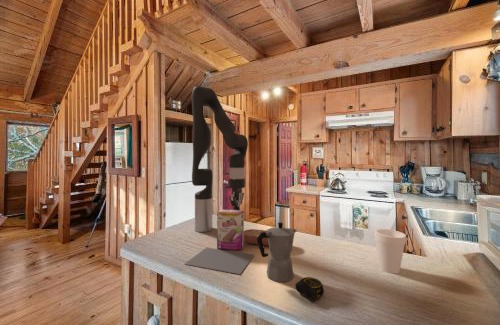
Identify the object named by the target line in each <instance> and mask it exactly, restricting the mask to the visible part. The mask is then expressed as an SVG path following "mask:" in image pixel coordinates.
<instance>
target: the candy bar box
mask: <svg viewBox="0 0 500 325" xmlns="http://www.w3.org/2000/svg"><path fill="white" fill-rule="evenodd" d="M216 225H217V227H216V228H217V229H216V231H217V233H216V234H217V236H216V249H220V250H227V251H243V248H244V243H245V242H244V241H245V239H244V231H245V210H241V209H240V210H234V209H219V210H218V211H217V224H216Z"/></svg>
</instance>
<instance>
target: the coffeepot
mask: <svg viewBox="0 0 500 325" xmlns="http://www.w3.org/2000/svg"><path fill="white" fill-rule="evenodd" d="M277 225H278V226H277V227H276V226H275V227H271V228H268V229H266V232H261V233H260V234H259V236H258V237H257V243H258V244H257V245H258V249H259V251H260V254H261V257H262V258H266V257H268V256H269V257H268V262H267V268H266V275H267V278H268V279H270V280H271V281H273V282H276V283H286V282H290V281H291V280H292V279H294V271H293V270H294V268H293V262H292V258H291V253H292V251H293V244H294V239H295V233H296V232H297V229H295V228H289V227H284V224H283V222H280V221H279V222H277ZM263 238H268V242H269V246H268V247H269V248H268V249H269V252H270V253H266V252H265V250H266V249H265V247H264V245H263V242H262V239H263Z"/></svg>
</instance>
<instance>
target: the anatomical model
mask: <svg viewBox="0 0 500 325" xmlns="http://www.w3.org/2000/svg"><path fill="white" fill-rule="evenodd" d="M266 231H267V229H266V230H264V229H254V228H253V229H252V228H251V229H246V230H245V229H244V241H246V242H247V243H249V244H252V245H258V243H257V237H258V236H259V234H260V233H261V232H266ZM262 242H263V246H267V247H269V242H268V238H263V239H262Z"/></svg>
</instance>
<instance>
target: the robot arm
mask: <svg viewBox="0 0 500 325" xmlns="http://www.w3.org/2000/svg"><path fill="white" fill-rule="evenodd" d="M204 107H208V108H210V110H212V113H213V119H214V123H215V125H216V127H217V128H218V130H219V131H220V133H221V134H222V138H223V140H224V143H225V144H226V146H227V147H228V148H229V149H231V150H234V153H233V154H231V155H230V157H229V170H228V188H230V189H231V196H229V197H228V198H229V201H230V204H231V206H232V207H233V210H241V205H242V204H243V202H244V200H243V199H244V195H245V193H244V192H243V189H244V188H246V169H245V167H246V166H245V162H246V160H245V159H246V155H247V152H248V151H247V150H248V146H249V141H248V138H247V137H246V135H244V134H238V133H236V126H235V124H234V123H233V122H232V120H231V119H230V118H229V116H228V115H227V113H226V112H225V110H224V108H223V106H222V104H221V102H220V100H219V98H218V96H217V94H216V93H215V91H214V90H213V89H212V88H210V87H205V86H199V85H196V86H195V87H193V89H192V91H191V108H192V109H191V110H192V169H191V171H192V172H191V183H192V185H193V186H195V187H198V186H199V187H201V186H203V187H204V186H205V187H204V188H203V189H201V190H200V191H197V192H195V194H194V231H195V232H197V233H207V232H210V231H212V230H213V179H214V178H213V176H214V175H213V174H214V173H213V170H212V169H211V168H199V167H200V164H201V161H202V159H203V157H204V156H205V155H206V153H207V152H208V151H209V149H210V147H211V143H212V133H211V129H210V126H209V124H208V122H207V120H206V118H205V114H204Z"/></svg>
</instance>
